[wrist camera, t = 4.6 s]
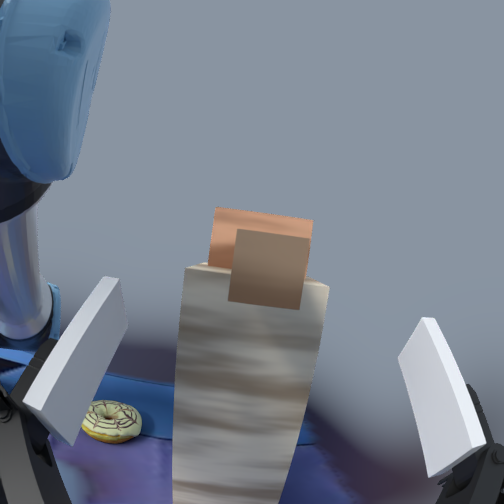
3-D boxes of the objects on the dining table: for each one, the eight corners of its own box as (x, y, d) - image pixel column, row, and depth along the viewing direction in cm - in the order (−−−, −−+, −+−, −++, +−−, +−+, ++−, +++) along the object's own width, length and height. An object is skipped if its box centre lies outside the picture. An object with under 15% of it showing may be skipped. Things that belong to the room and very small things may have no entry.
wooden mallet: (375, 317, 12) (390, 184, 12) (147, 288, 12) (167, 151, 12) (299, 275, 34) (306, 223, 34) (212, 263, 34) (219, 211, 34)
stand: (271, 522, 25) (329, 287, 24) (173, 509, 25) (185, 267, 24) (268, 475, 35) (307, 276, 34) (186, 464, 35) (204, 262, 34)
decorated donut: (152, 443, 38) (151, 425, 38) (88, 450, 31) (85, 432, 31) (130, 410, 46) (130, 394, 46) (76, 414, 39) (73, 396, 39)
